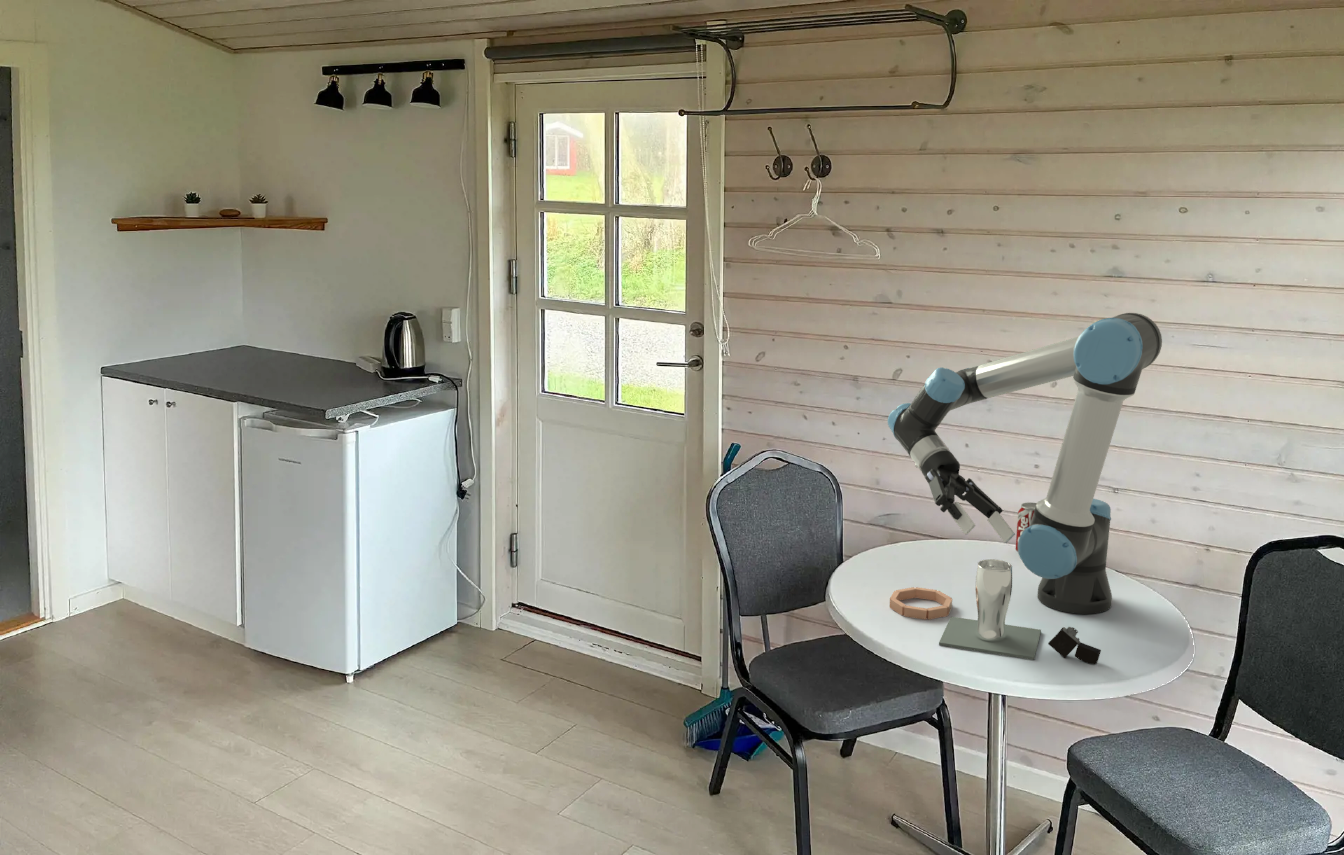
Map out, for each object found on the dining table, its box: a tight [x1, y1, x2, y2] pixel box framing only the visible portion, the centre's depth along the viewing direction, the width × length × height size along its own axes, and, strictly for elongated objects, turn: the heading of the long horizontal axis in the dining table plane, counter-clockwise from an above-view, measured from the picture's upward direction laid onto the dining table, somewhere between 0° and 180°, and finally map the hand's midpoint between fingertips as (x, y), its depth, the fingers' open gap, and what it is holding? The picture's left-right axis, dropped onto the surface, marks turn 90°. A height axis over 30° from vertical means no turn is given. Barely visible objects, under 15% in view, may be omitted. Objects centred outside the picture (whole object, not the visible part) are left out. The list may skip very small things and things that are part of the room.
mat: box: [938, 616, 1042, 661], centre depth 229 cm, size 18×14×1 cm
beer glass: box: [975, 558, 1013, 642], centre depth 227 cm, size 7×7×15 cm
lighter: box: [1047, 626, 1102, 665], centre depth 220 cm, size 9×2×6 cm
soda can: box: [1015, 502, 1037, 553], centre depth 276 cm, size 7×7×12 cm
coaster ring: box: [889, 586, 953, 621], centre depth 245 cm, size 12×12×2 cm
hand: (990, 534), depth 230 cm, fingers open, 13 cm apart
